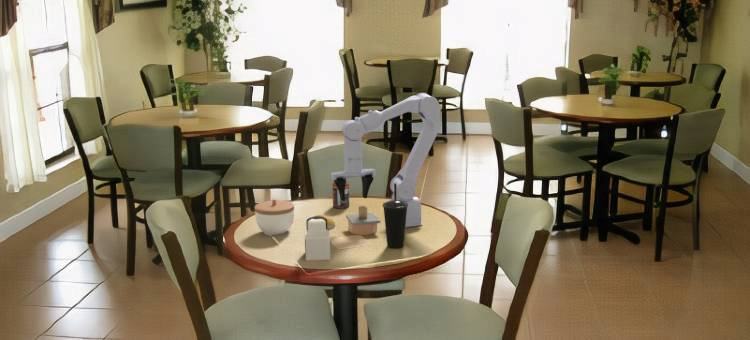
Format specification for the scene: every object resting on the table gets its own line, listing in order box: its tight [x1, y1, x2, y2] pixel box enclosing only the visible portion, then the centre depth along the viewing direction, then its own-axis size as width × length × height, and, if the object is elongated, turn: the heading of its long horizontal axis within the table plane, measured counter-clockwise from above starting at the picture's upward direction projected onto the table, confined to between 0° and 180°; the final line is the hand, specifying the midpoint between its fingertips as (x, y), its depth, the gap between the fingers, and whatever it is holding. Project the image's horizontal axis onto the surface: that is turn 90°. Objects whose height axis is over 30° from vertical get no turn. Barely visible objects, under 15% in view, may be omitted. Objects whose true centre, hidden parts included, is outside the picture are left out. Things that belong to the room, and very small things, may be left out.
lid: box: [345, 205, 381, 225], centre depth 247 cm, size 9×9×4 cm
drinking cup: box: [382, 183, 408, 250], centre depth 231 cm, size 8×8×20 cm
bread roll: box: [313, 214, 336, 231], centre depth 253 cm, size 8×9×4 cm
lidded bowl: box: [254, 198, 295, 237], centre depth 247 cm, size 13×13×11 cm
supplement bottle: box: [332, 178, 350, 209], centre depth 276 cm, size 6×6×11 cm
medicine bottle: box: [304, 215, 331, 261], centre depth 224 cm, size 7×7×12 cm
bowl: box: [347, 219, 378, 236], centre depth 248 cm, size 9×9×4 cm
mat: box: [330, 234, 373, 251], centre depth 237 cm, size 11×11×1 cm
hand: (353, 198), depth 250 cm, fingers open, 7 cm apart
